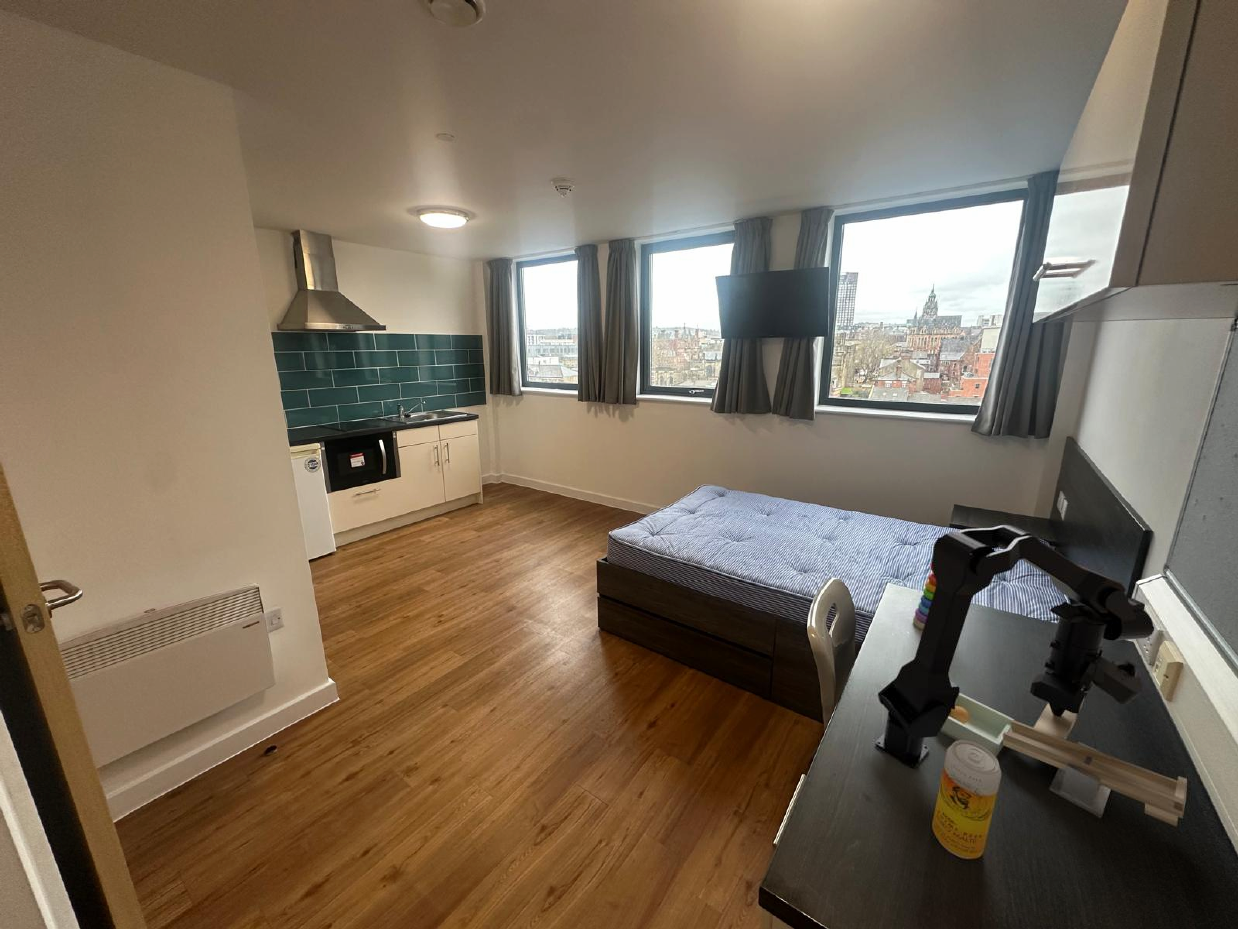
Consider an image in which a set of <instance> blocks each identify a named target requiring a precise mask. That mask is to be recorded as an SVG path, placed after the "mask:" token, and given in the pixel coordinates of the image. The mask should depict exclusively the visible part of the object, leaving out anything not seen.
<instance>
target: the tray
mask: <svg viewBox="0 0 1238 929" xmlns="http://www.w3.org/2000/svg"><path fill="white" fill-rule="evenodd" d="M955 706H959V707H962V708H964V709H965V710H966V711H967V713H968V715H969V720H968V722H967V723H965V724H963V723H961V722H959V721H957V720H955V719H953V718H951V717H950V714H949V716H948V718H947V720H946V722H945V723H944V725H943V727H942V728H941V730H940V732H939V733H942V734H944V735H946V736H948V737H949V738H951V739H953V740H955V741H959V740H965V741H970V742H973V743H976V744H978V745H980V746H982V747H984V748H985V749H987V750H988V751H990V752H991V753H992V754H993V755H994V756H995V757H996V758H997V757H998V755H999V754H1000V752H1001V751H1002V749H1003V747H1005V746H1004V745H1003V733H1004V732H1006V733H1008V732H1009V730H1010V729H1011V721H1012V720H1014V721H1015V719H1014V718H1012V717H1010V716H1008V715H1006V714H1004V713H1002V712H1000V711H997V710H995V709H994V708H991V707H989V706H987V705H986V704H984V703H981V702H979V701H977V700H975V699H973V698H971V697H968V696H967V695H964V694H963V693H961V692H959V695H958V697H957V699H956V702H955Z"/></svg>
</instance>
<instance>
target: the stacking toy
mask: <svg viewBox="0 0 1238 929" xmlns="http://www.w3.org/2000/svg"><path fill="white" fill-rule="evenodd" d="M930 570H931V573H930V574H929V575H928V576H927V578H928V580H927V581H926V582H925V585H924V586H925V587H924V589H923V591H922V592H923V594H922V595H921V597H920V602H919V603H918V607H917V608H916V609H915V612H914V613H915V615H914V616H913V620H912V621H913V623H914V625H915V626H916V627H917V628H918V629H920V630H922V631H923V629H924V625H925V622H926V619H927V615H928V612H929V609H930V605H931V602H932V599H933V595H934V592H935V588H936V579H935V575H934V571H933V568H932V561H931V562H930Z"/></svg>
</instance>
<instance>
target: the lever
mask: <svg viewBox="0 0 1238 929" xmlns="http://www.w3.org/2000/svg"><path fill="white" fill-rule="evenodd" d="M1040 714H1041V715H1040V716H1039V718H1038V719H1037V721H1036V723H1035V724H1034V726H1029V725H1027V724H1024V723H1022V722H1019V721H1017V720H1015V719H1014V720H1012V721H1011V729H1010V730H1009V732H1008V733H1006V732H1004V733H1003V745H1004V746H1003V747H1007V748H1009V749H1011V750H1013V751H1017V752H1019V753H1021V754H1024V755H1027V756H1028V757H1031V758H1033V759H1036V760H1038V761H1041V762H1044V763H1046V764H1048V765H1051V766H1053V767H1056V768H1058V769H1059V768H1060V769H1063V770H1065V771H1066V769H1067V766H1068V763H1069V764H1071V765H1073V766H1075V767H1077V768H1079V769H1081V770H1083V771H1085V772H1087V773H1089V774H1091V775H1093V776H1095V777H1097V778H1099V779H1100V782H1099V785H1102V786H1104V787H1107V788H1109V789H1111V790H1112V791H1115V792H1116V793H1118V794H1119V793H1120V794H1121V795H1124V796H1126V797H1130V798H1132V799H1134V800H1136V801H1139V802H1141V803H1144V814H1146V815H1149V816H1151V817H1153V818H1155V819H1157V820H1160V821H1162V822H1165V823H1167V824H1170V825H1172V826H1174V827H1177V825H1178V821H1179V820H1178V819H1179V818H1181V819H1184V817H1183V816H1184V813H1185V808H1186V807H1185V805H1186V800H1187V788H1188V787H1187V786H1188V785H1187V784H1188V779H1187V778H1185V777H1182V776H1177V780H1176V779H1174V778H1170V777H1168V776H1165V775H1162V774H1160V773H1158V772H1155V771H1152V770H1150V769H1147V768H1144V767H1142V766H1138V765H1136V764H1134V763H1130V762H1128V761H1125V760H1122V759H1121V758H1120V759H1119V758H1116V757H1114V756H1111V755H1109V754H1107V753H1104V752H1102V753H1101V751H1100V752H1098V751H1099V750H1097V751H1095V750H1096V749H1095V750H1093V749H1094V748H1093V749H1090V748H1087V747H1085V746H1082V745H1079V744H1078V743H1076V742H1073V741H1072V740H1068V736H1069V735H1070V733H1071V731H1072V728H1073V727H1074V725H1075V723H1076V721H1077V719H1078V714H1076V713H1071V712H1069V711H1067V710H1065V711H1064V713H1063V714H1062V716H1061V717H1058V716H1056V715H1054V714H1053V713H1052V711H1051V708H1050V705H1049V702H1047V704H1046V706H1045V708H1044V709H1043V711H1042V712H1041V713H1040ZM1103 753H1104V754H1103Z"/></svg>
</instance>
